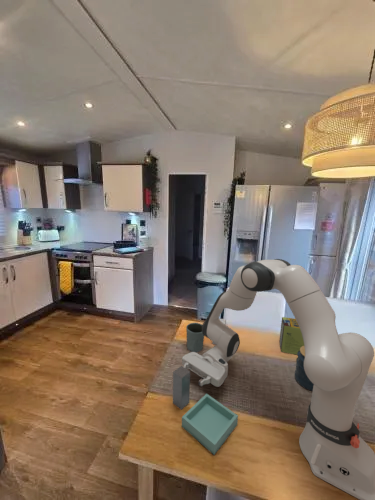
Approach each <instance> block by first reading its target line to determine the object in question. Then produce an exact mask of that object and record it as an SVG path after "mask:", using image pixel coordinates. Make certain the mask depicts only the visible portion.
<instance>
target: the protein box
mask: <svg viewBox="0 0 375 500" xmlns="http://www.w3.org/2000/svg"><path fill="white" fill-rule="evenodd" d="M278 341H279V348H280V352H281V353H285V354H290V355H296V356H297V353H298V351H299V350H300V348H301V347H302V346H304V341H303V337H302V333H301V330H300V327H299V325H298V323H297V321H296V319H295V318H293V317H286V316H285V317H284V316H282V317H281V323H280V332H279V340H278Z"/></svg>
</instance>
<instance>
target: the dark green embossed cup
mask: <svg viewBox="0 0 375 500" xmlns="http://www.w3.org/2000/svg"><path fill="white" fill-rule="evenodd" d="M202 325H203V323H198V322H191V323H188V324H187V325H186V326H185V327H186V329H185V330H186V349H187V350H188V351H189V352H197V353H199V352H201V351H202V350H203V347H204V341H205V336H204V335H203V333H202Z"/></svg>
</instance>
